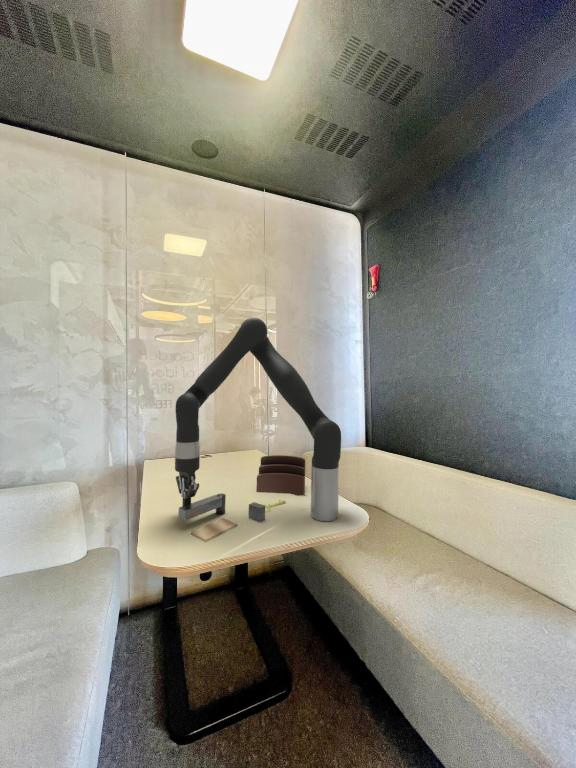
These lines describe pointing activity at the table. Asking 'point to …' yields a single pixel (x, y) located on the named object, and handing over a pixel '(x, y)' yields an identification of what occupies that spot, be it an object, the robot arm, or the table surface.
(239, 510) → the table surface
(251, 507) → the block
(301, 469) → the letter holder
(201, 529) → the brown rectangular panel
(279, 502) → the key
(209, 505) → the grey handle
